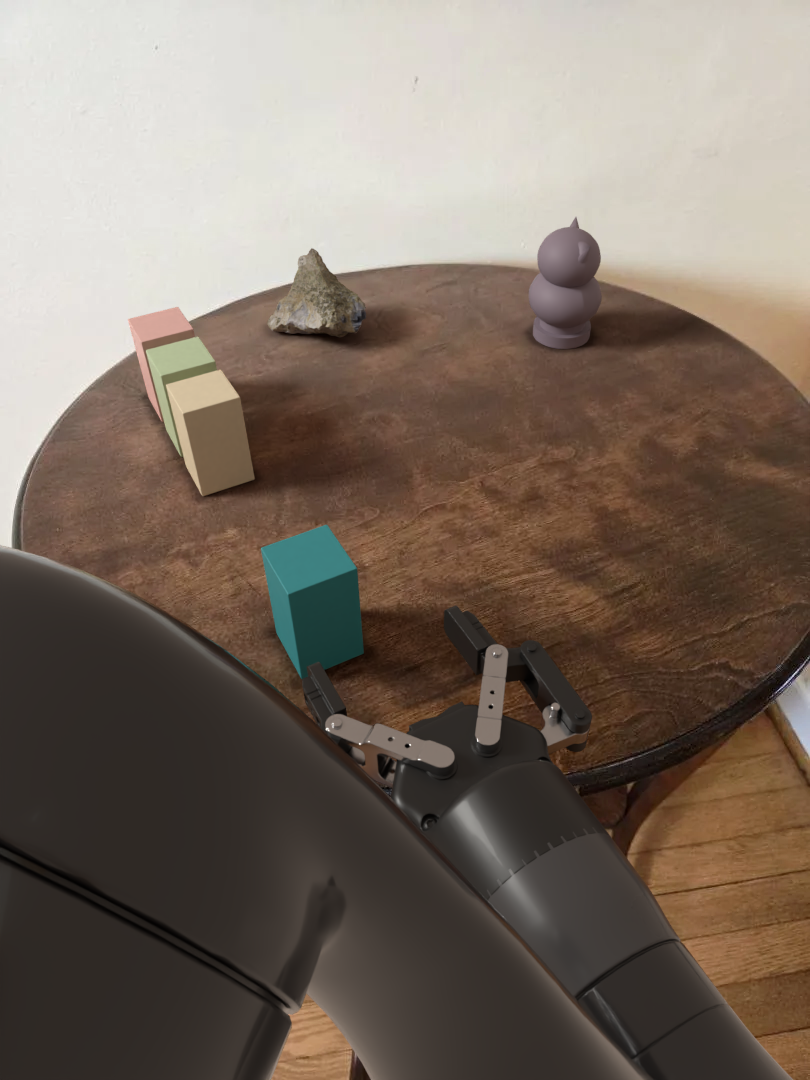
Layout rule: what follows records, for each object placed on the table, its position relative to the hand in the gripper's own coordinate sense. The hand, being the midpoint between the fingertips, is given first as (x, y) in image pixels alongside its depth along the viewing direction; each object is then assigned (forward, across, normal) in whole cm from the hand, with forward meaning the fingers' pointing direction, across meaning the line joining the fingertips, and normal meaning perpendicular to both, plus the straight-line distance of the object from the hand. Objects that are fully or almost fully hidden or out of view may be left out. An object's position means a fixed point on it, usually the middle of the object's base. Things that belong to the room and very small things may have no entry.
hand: (382, 644), depth 48 cm
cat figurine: (+40, -42, +12) cm, 59 cm away
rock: (+53, -18, +12) cm, 57 cm away
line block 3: (+34, 0, +12) cm, 36 cm away
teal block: (+11, 0, +12) cm, 16 cm away
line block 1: (+47, 0, +12) cm, 49 cm away
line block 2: (+41, 0, +12) cm, 43 cm away
